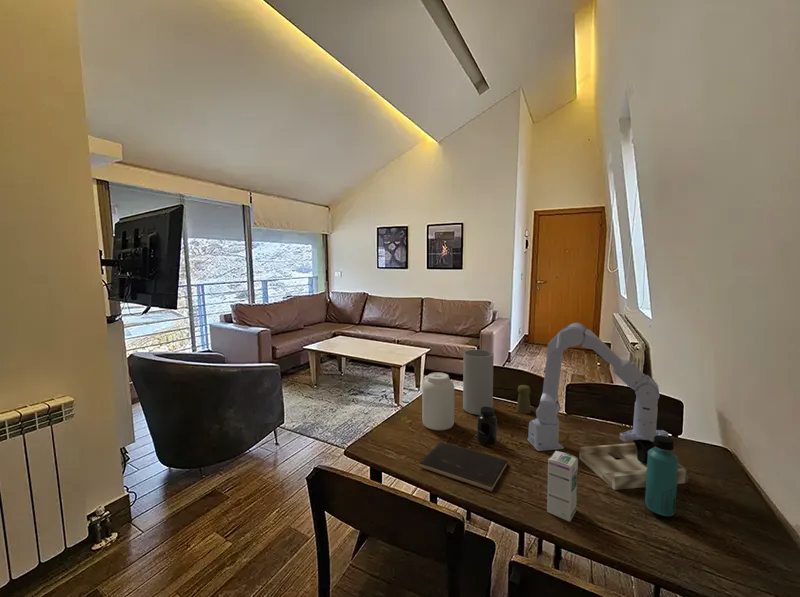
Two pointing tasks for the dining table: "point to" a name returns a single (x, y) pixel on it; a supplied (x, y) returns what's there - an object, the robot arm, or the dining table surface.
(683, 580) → the dining table surface
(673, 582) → the dining table surface
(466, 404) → the cylinder vase
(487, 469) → the hardcover book
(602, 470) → the trap box
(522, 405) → the cork
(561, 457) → the syrup box
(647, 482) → the beverage bottle
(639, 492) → the dining table surface
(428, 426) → the white lidded jar
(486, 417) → the supplement bottle
